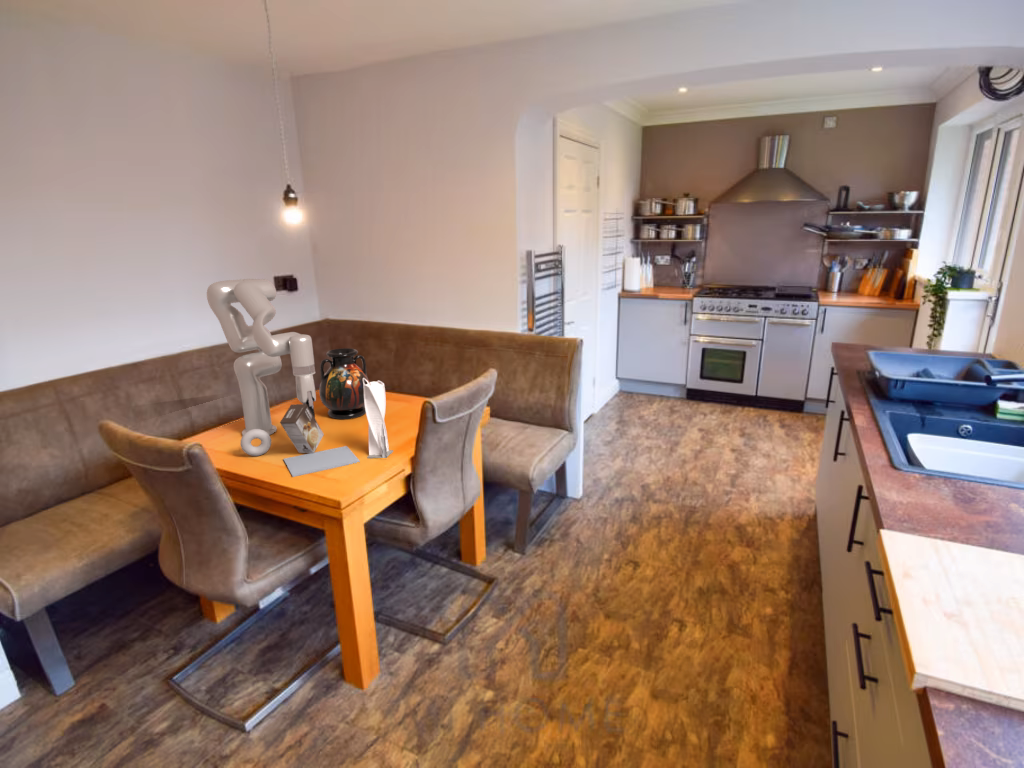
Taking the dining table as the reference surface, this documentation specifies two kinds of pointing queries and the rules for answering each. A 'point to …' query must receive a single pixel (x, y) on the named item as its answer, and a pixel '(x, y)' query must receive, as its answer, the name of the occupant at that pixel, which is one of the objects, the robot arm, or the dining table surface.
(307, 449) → the coffee box
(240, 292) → the robot arm
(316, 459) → the mat
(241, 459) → the dining table surface
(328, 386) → the amphora vase
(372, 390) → the skyscraper
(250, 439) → the donut
